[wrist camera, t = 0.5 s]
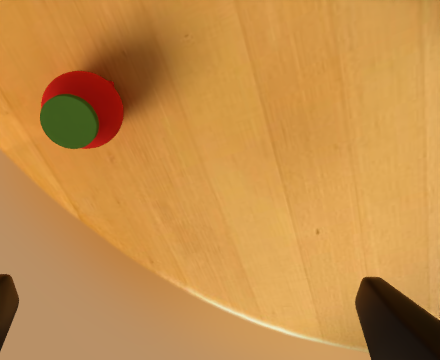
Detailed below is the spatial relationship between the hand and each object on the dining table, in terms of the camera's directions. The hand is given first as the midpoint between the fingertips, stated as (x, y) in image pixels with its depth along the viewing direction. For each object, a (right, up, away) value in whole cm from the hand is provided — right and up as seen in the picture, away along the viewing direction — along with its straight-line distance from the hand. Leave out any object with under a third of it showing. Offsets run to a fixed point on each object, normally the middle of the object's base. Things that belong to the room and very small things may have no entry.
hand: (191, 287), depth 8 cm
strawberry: (-7, +7, +11) cm, 15 cm away
